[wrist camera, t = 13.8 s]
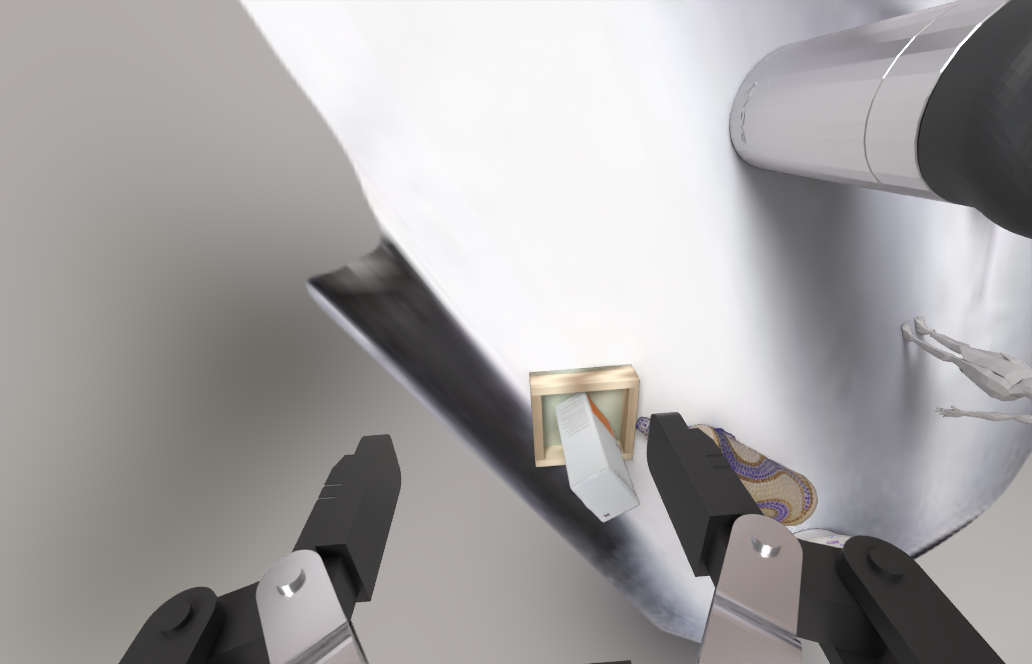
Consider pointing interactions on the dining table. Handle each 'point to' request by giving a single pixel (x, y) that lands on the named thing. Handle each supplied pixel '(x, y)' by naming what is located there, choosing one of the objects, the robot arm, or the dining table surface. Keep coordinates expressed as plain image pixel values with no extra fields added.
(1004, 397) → the human figurine
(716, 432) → the decorative bottle
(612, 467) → the skincare box
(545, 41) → the dining table surface
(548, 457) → the pocket tray
